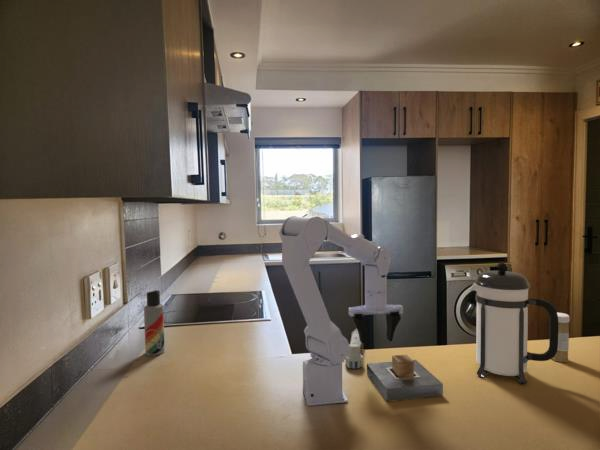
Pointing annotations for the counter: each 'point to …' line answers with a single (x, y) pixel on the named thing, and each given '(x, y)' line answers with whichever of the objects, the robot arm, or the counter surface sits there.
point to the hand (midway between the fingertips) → (375, 340)
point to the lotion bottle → (154, 324)
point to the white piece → (354, 351)
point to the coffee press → (507, 324)
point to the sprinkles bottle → (562, 338)
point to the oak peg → (402, 366)
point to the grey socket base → (404, 382)
